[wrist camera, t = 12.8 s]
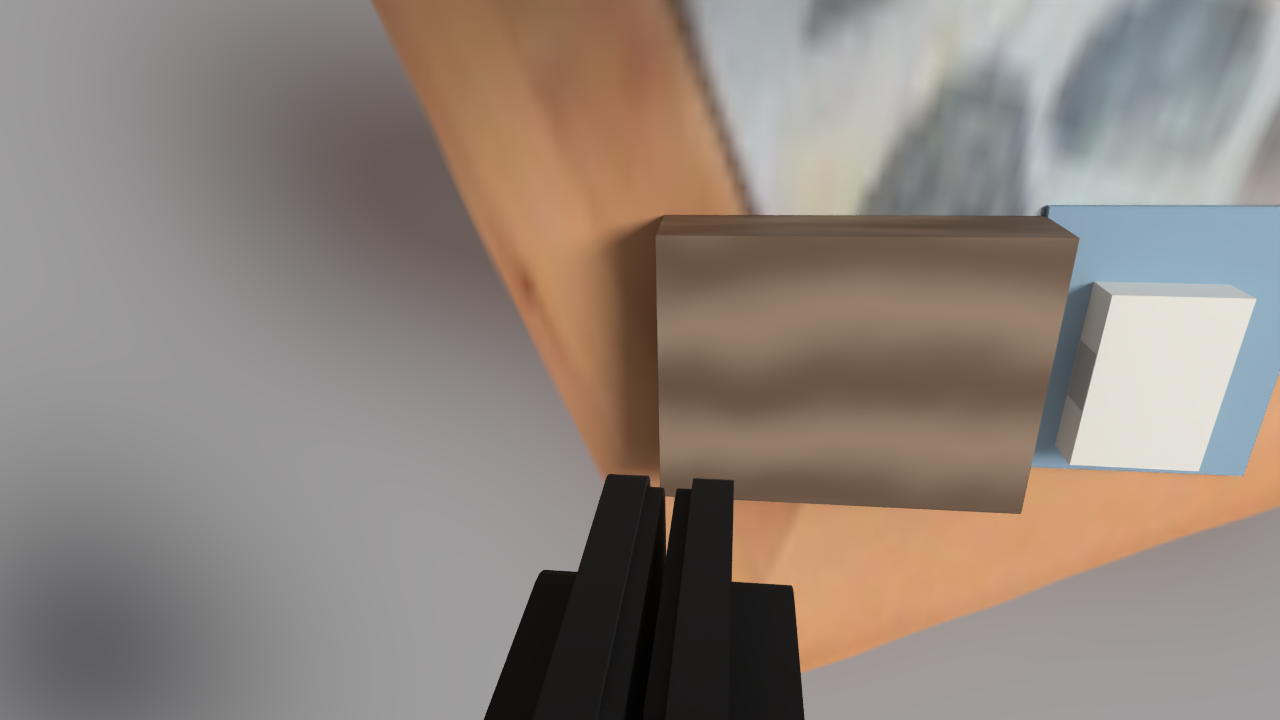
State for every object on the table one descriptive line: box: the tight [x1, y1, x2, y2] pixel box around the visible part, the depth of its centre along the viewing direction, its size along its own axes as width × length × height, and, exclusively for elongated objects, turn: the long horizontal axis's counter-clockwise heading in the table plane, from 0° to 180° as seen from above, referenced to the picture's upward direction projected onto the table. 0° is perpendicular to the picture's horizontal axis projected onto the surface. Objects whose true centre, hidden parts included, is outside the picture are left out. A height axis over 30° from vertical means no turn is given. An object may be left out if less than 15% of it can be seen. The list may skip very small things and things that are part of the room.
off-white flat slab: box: [1055, 281, 1256, 471], centre depth 37 cm, size 9×6×2 cm, turn 1°
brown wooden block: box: [655, 215, 1080, 514], centre depth 38 cm, size 14×18×4 cm
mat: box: [1031, 205, 1280, 476], centre depth 37 cm, size 14×12×1 cm
